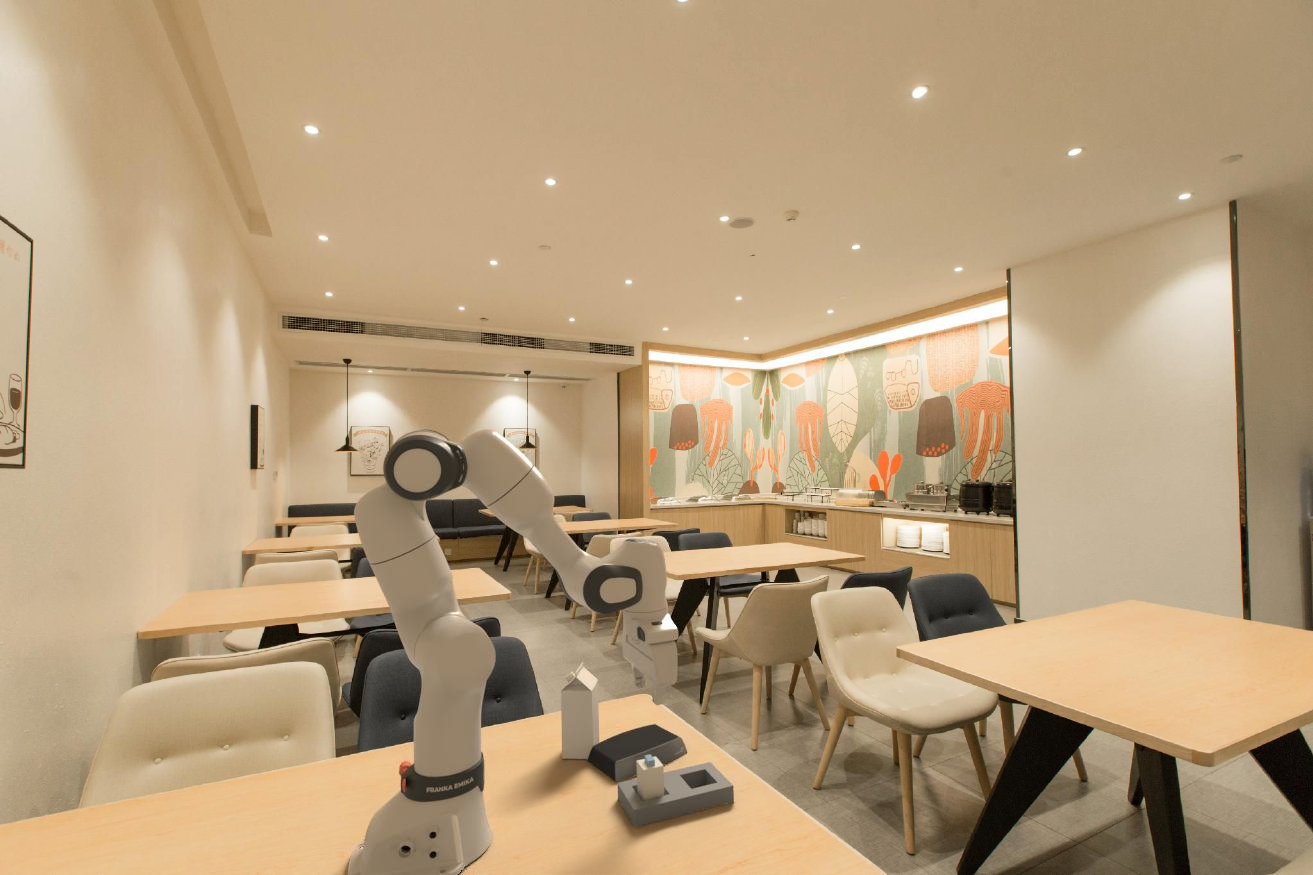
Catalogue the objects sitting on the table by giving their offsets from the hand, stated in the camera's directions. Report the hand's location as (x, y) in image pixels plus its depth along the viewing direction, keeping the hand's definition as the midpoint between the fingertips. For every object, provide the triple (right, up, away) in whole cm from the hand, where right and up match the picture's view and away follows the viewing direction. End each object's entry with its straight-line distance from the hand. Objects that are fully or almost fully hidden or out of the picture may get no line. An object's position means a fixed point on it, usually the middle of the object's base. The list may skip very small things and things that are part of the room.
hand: (648, 694), depth 113 cm
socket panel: (+5, -20, -1) cm, 21 cm away
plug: (0, -20, -2) cm, 20 cm away
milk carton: (-16, -22, +20) cm, 34 cm away
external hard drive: (-3, -22, +17) cm, 28 cm away
